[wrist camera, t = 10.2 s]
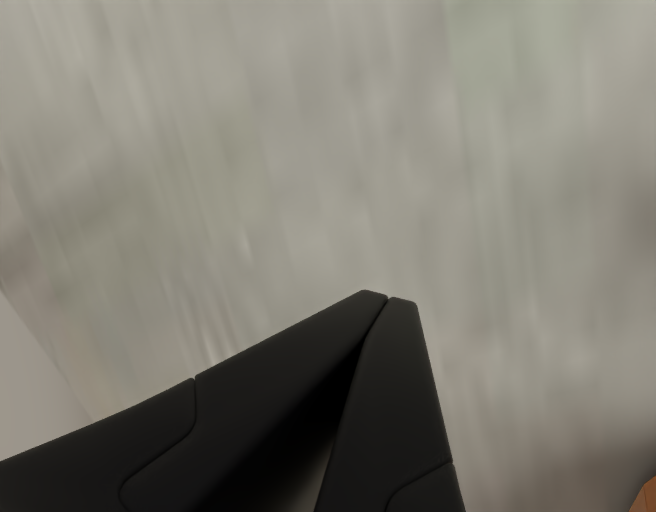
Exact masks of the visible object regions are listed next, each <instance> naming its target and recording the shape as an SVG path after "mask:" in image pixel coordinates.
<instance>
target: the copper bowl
mask: <svg viewBox="0 0 656 512" xmlns="http://www.w3.org/2000/svg"><path fill="white" fill-rule="evenodd" d="M629 512H656V475H655V476H654V477H653V478H651V479H650V480H649V481H647V482H646V483H645V484H644V485H643V486H642V488H641V490H640V492H639V494H638V495H637V497H636V499H635V501H634V503H633V505H632V506H631V508H630V510H629Z"/></svg>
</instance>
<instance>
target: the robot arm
mask: <svg viewBox="0 0 656 512" xmlns="http://www.w3.org/2000/svg"><path fill="white" fill-rule="evenodd" d="M452 463H453V459H452V455H451V450H450V446H449V442H448V437H447V433H446V429H445V425H444V420H443V416H442V412H441V407H440V403H439V399H438V394H437V390H436V386H435V381H434V377H433V373H432V368H431V364H430V360H429V356H428V351H427V347H426V343H425V338H424V334H423V330H422V325H421V321H420V317H419V312H418V308H417V305H416V303H414V302H412V301H408V300H404V299H400V298H396V297H391V298H389V299H388V297H387V296H386V295H384V294H380V293H377V292H373V291H369V290H361V291H359V292H357V293H355V294H353V295H351V296H349V297H347V298H345V299H343V300H341V301H339V302H337V303H336V304H334V305H332V306H330V307H328V308H326V309H324V310H322V311H320V312H318V313H316V314H314V315H312V316H310V317H308V318H306V319H304V320H302V321H300V322H299V323H297V324H295V325H293V326H291V327H289V328H287V329H285V330H283V331H281V332H279V333H277V334H275V335H273V336H271V337H269V338H267V339H265V340H264V341H262V342H260V343H258V344H256V345H254V346H252V347H250V348H248V349H246V350H244V351H242V352H240V353H238V354H236V355H234V356H232V357H230V358H228V359H227V360H225V361H223V362H221V363H219V364H217V365H215V366H213V367H211V368H209V369H207V370H205V371H203V372H201V373H199V374H197V375H196V376H195V380H194V379H193V378H189V379H187V380H185V381H183V382H181V383H179V384H177V385H175V386H174V387H172V388H170V389H168V390H166V391H164V392H161V393H159V394H157V395H155V396H153V397H151V398H149V399H147V400H145V401H143V402H141V403H139V404H137V405H135V406H132V407H130V408H128V409H126V410H123V411H121V412H119V413H116V414H114V415H112V416H109V417H107V418H105V419H102V420H100V421H98V422H95V423H93V424H91V425H88V426H86V427H84V428H81V429H79V430H76V431H74V432H71V433H69V434H66V435H64V436H61V437H59V438H56V439H54V440H52V441H49V442H47V443H44V444H42V445H39V446H37V447H35V448H32V449H29V450H27V451H25V452H22V453H20V454H17V455H15V456H12V457H10V458H7V459H5V460H3V461H0V512H466V510H465V506H464V503H463V499H462V496H461V492H460V488H459V483H458V479H457V475H456V471H455V467H454V465H453V464H452ZM313 510H314V511H313Z"/></svg>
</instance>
